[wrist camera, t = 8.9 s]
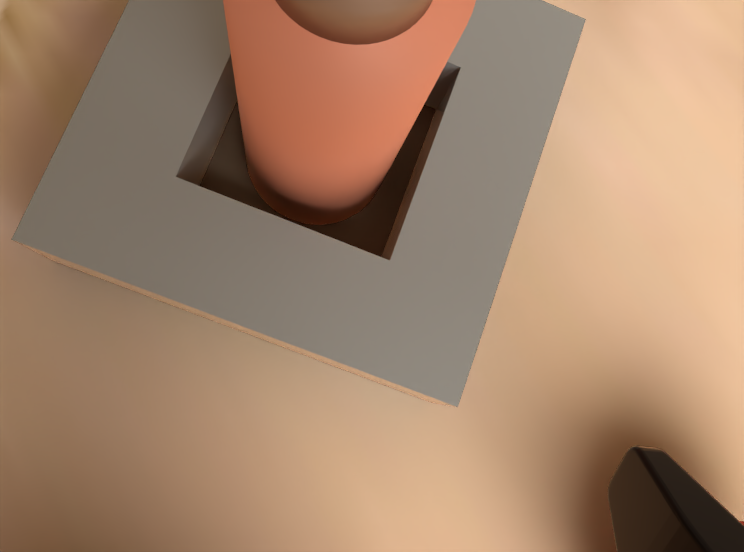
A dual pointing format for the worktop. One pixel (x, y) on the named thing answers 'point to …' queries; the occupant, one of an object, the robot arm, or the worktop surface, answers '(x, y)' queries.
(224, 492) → the worktop surface
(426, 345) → the socket board
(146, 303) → the worktop surface
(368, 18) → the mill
